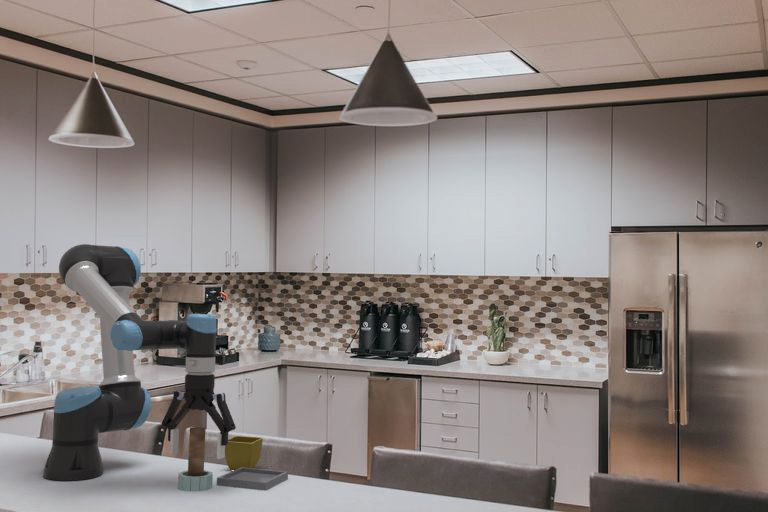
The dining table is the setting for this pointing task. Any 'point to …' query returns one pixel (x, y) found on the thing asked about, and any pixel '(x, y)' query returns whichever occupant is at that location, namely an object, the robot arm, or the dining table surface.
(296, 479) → the dining table surface
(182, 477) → the crock
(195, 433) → the cylinder
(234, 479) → the tray
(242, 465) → the flower pot
